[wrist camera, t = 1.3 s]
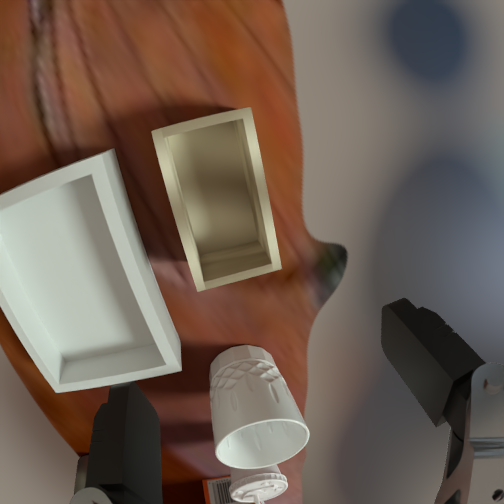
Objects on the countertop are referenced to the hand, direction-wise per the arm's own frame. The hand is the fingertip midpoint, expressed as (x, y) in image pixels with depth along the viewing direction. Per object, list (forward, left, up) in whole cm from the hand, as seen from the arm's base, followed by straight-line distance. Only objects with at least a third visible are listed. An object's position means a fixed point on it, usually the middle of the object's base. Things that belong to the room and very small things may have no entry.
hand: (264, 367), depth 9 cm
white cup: (-13, -11, -17) cm, 24 cm away
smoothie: (-22, -17, -17) cm, 33 cm away
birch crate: (+2, +1, -17) cm, 18 cm away
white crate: (-11, +7, -17) cm, 21 cm away
